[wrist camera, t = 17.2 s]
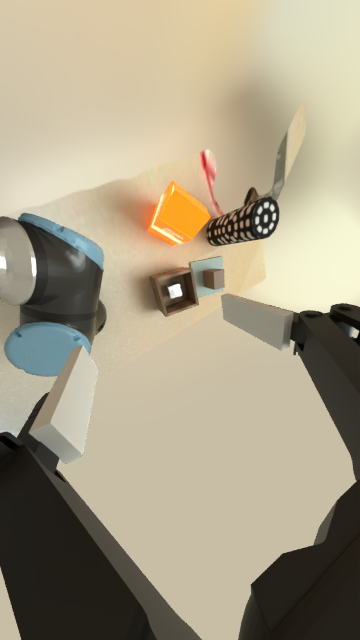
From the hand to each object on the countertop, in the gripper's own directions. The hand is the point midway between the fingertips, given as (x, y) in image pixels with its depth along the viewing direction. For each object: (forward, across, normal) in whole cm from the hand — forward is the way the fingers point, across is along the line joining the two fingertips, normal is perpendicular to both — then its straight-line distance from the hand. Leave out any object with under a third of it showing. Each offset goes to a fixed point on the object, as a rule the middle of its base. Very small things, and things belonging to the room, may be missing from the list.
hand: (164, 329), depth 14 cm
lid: (+39, +27, -6) cm, 48 cm away
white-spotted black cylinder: (+39, +33, +8) cm, 52 cm away
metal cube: (+38, +12, -6) cm, 40 cm away
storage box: (+39, +12, -6) cm, 41 cm away
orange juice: (+39, +15, +13) cm, 44 cm away
